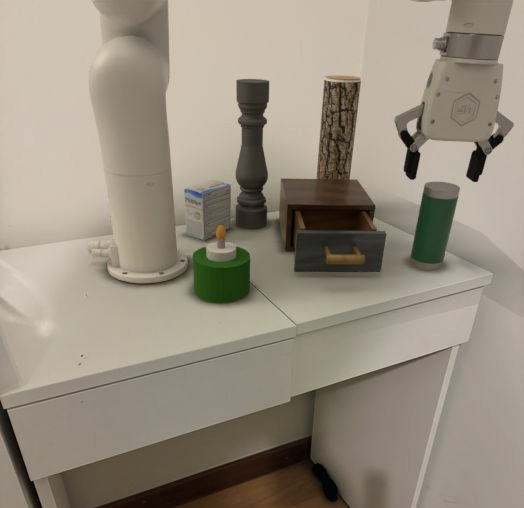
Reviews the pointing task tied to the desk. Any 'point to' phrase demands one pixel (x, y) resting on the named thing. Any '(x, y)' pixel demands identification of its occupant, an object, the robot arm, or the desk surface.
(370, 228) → the drawer
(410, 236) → the desk surface
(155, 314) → the desk surface
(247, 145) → the candle holder
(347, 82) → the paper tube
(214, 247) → the candle
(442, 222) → the can
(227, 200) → the medicine box
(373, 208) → the cabinet
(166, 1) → the robot arm
